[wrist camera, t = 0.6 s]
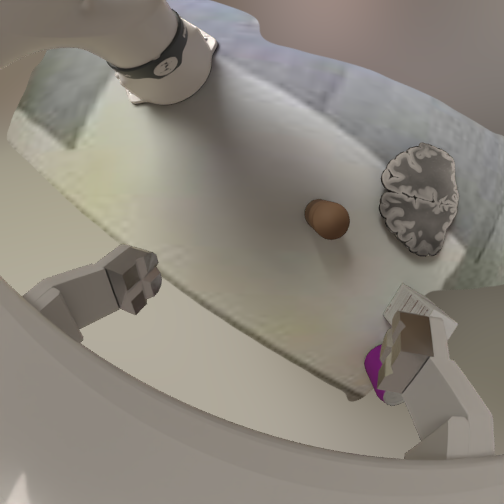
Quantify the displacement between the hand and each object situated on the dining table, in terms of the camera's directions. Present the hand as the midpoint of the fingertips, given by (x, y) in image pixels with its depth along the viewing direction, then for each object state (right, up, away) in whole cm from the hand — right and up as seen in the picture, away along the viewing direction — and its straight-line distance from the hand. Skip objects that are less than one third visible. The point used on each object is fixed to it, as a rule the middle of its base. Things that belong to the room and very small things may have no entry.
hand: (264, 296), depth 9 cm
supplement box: (+29, -9, +38) cm, 49 cm away
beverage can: (+26, -20, +41) cm, 53 cm away
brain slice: (+29, +11, +34) cm, 46 cm away
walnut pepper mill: (+11, +8, +36) cm, 38 cm away
